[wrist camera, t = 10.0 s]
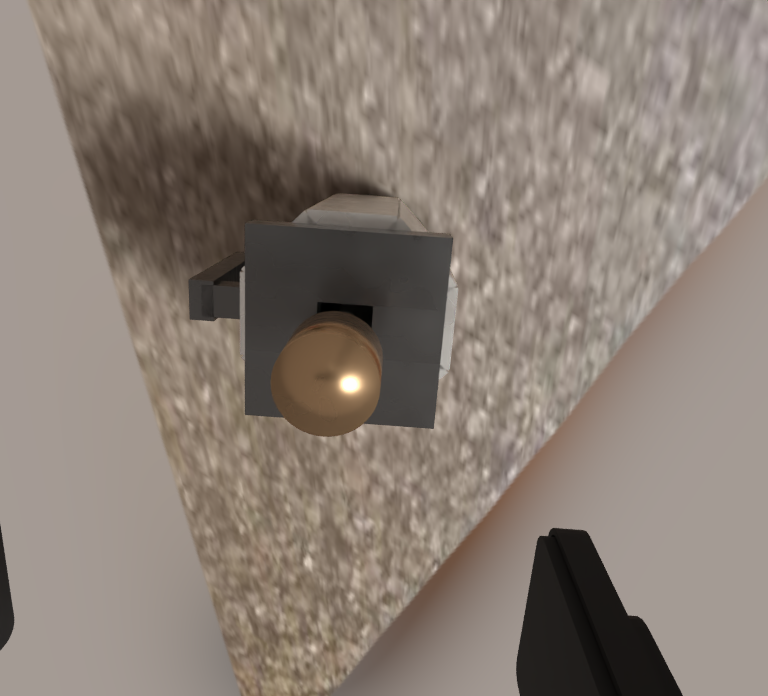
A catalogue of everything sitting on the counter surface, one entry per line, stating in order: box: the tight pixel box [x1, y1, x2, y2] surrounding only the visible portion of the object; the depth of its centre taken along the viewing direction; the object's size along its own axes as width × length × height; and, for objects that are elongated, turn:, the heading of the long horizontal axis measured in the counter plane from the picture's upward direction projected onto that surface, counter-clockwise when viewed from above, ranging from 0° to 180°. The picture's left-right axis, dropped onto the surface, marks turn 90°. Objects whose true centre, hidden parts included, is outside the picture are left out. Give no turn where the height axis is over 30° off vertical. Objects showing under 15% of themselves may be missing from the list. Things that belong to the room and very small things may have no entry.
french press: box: [189, 193, 458, 429], centre depth 34 cm, size 13×10×16 cm
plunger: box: [271, 302, 383, 437], centre depth 29 cm, size 7×7×20 cm
